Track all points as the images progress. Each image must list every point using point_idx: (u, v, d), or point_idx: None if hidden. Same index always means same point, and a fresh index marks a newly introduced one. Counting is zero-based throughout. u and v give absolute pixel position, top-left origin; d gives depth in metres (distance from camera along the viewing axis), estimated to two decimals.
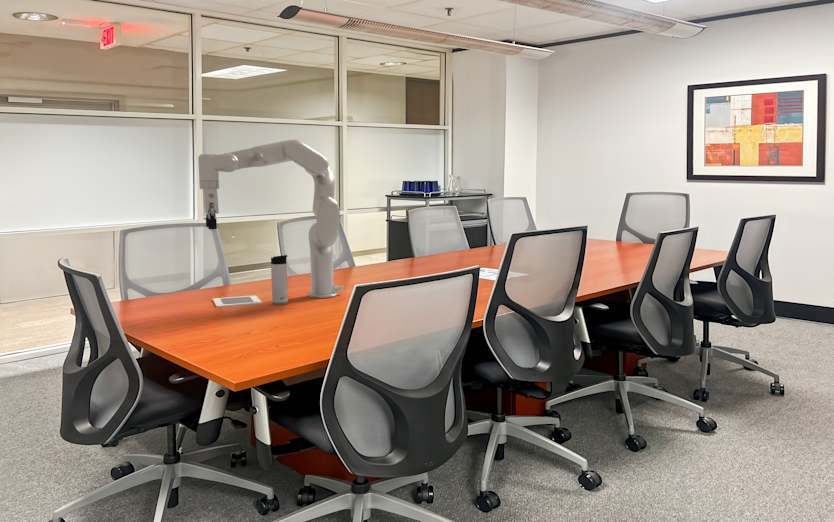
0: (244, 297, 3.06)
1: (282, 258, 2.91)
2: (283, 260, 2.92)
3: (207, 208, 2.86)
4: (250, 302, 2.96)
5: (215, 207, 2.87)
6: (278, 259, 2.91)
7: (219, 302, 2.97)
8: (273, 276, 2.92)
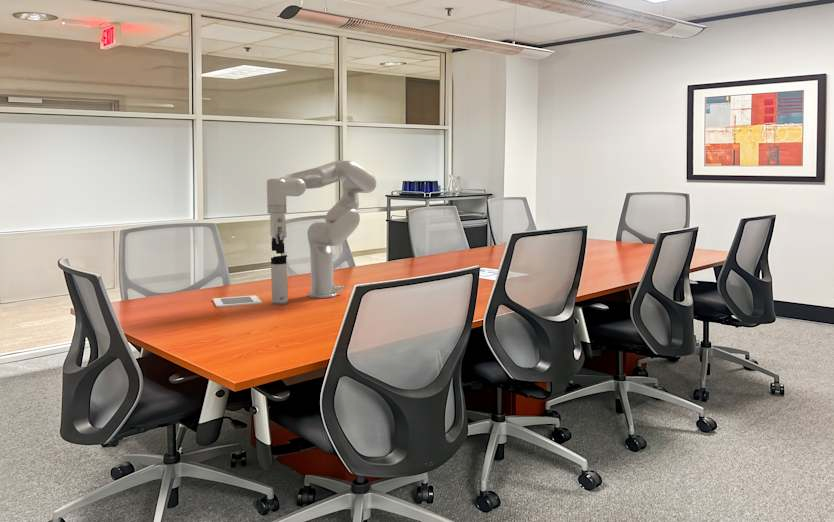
0: (244, 297, 3.06)
1: (282, 258, 2.91)
2: (283, 260, 2.92)
3: (275, 232, 2.87)
4: (250, 302, 2.96)
5: (283, 231, 2.88)
6: (278, 259, 2.91)
7: (219, 302, 2.97)
8: (273, 276, 2.92)
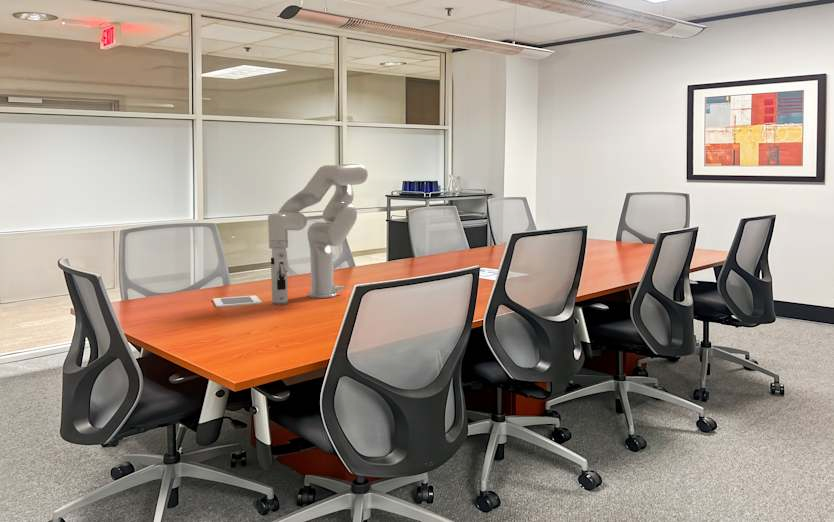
0: (244, 297, 3.06)
1: None
2: None
3: (277, 267, 2.89)
4: (250, 302, 2.96)
5: (285, 268, 2.90)
6: None
7: (219, 302, 2.97)
8: (273, 276, 2.92)
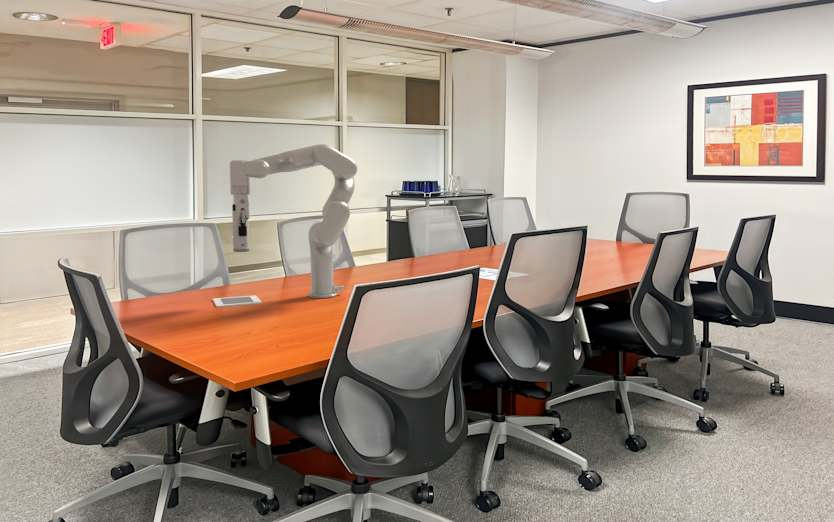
0: (244, 297, 3.06)
1: None
2: None
3: (238, 213, 2.89)
4: (250, 302, 2.96)
5: (246, 215, 2.91)
6: None
7: (219, 302, 2.97)
8: (234, 223, 2.92)
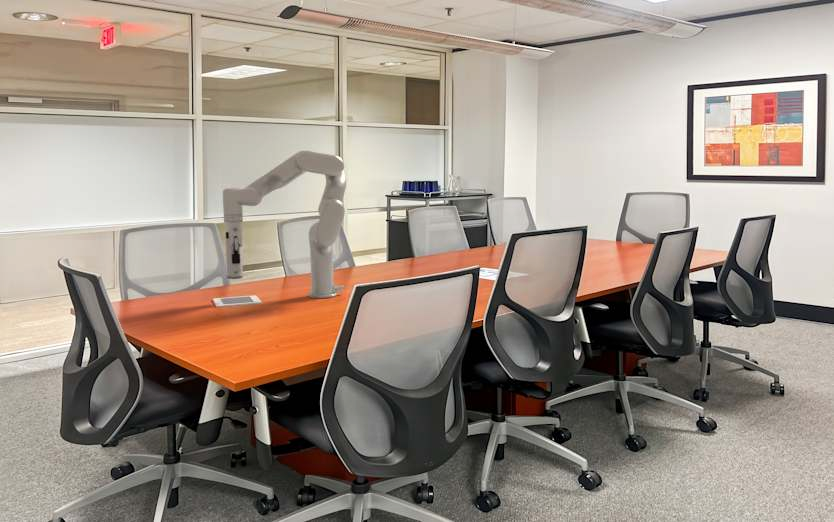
0: (244, 297, 3.06)
1: None
2: None
3: (231, 241, 2.92)
4: (250, 302, 2.96)
5: (239, 242, 2.93)
6: None
7: (219, 302, 2.97)
8: (227, 250, 2.95)
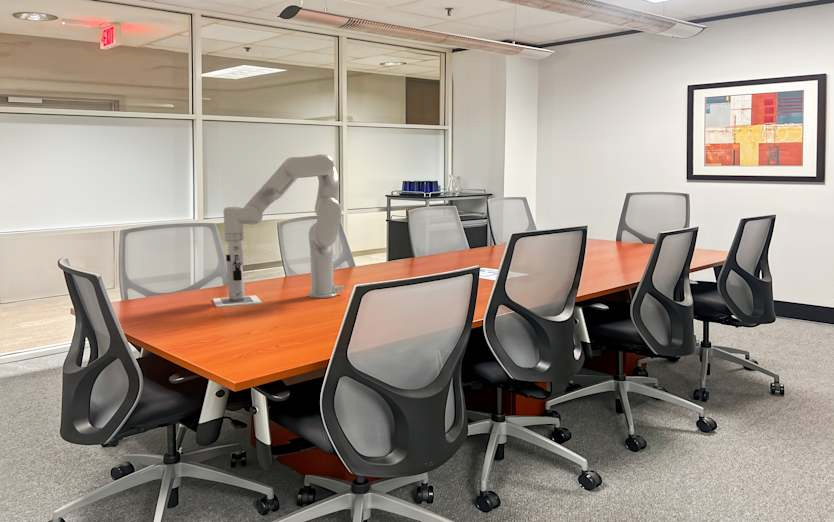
0: None
1: None
2: None
3: (232, 260, 2.93)
4: (250, 302, 2.96)
5: (240, 259, 2.94)
6: None
7: (219, 302, 2.97)
8: (229, 273, 2.96)
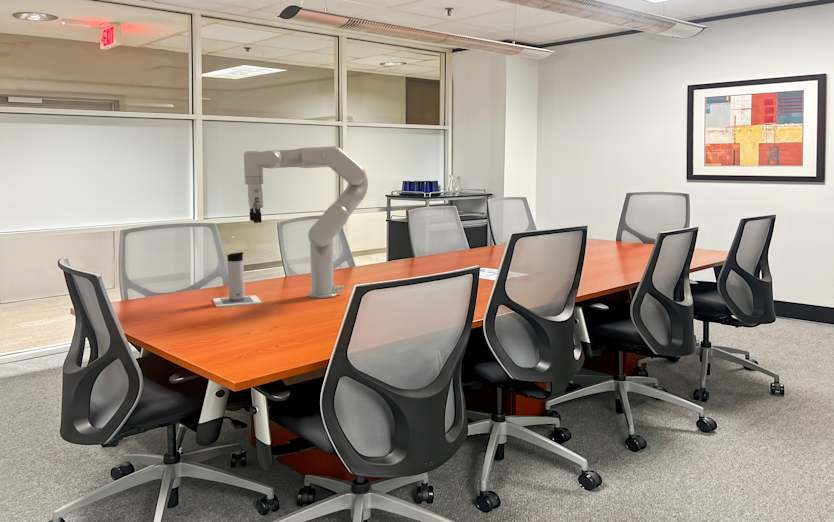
0: None
1: (238, 255, 2.96)
2: (239, 257, 2.96)
3: (252, 202, 3.00)
4: (250, 302, 2.96)
5: (260, 201, 3.01)
6: (234, 256, 2.95)
7: (219, 302, 2.97)
8: (229, 273, 2.96)
